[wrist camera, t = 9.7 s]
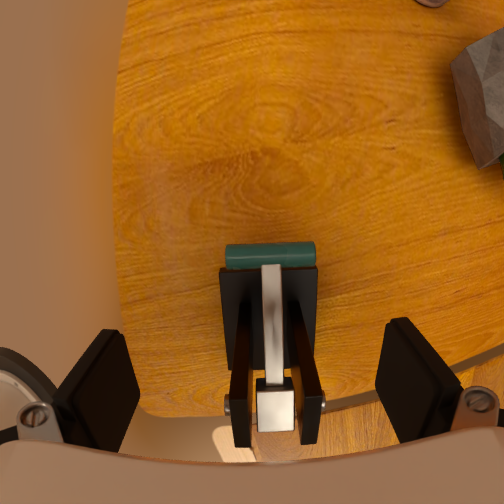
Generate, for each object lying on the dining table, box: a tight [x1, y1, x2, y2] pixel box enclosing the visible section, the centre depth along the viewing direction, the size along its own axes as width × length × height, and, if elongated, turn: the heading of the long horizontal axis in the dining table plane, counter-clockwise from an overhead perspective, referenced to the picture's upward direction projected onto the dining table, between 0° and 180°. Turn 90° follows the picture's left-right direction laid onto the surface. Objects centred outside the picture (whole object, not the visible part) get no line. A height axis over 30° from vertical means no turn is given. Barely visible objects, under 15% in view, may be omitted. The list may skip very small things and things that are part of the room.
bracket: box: [219, 265, 326, 448], centre depth 22 cm, size 10×8×13 cm
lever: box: [225, 241, 316, 432], centre depth 18 cm, size 11×5×2 cm, turn 3°
